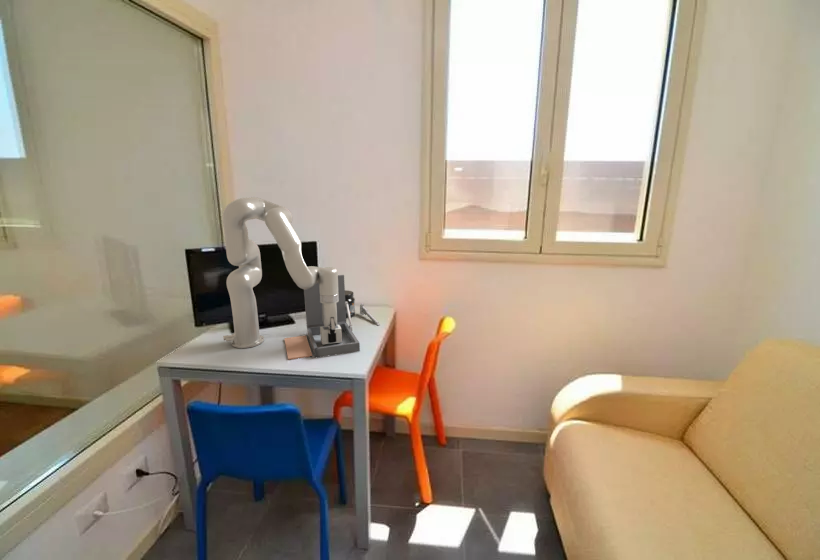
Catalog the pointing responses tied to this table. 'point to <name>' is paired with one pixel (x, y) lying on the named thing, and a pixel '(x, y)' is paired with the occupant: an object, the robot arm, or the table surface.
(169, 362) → the table surface
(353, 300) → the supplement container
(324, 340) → the module
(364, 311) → the caliper
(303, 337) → the rubber mat
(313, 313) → the equipment case
